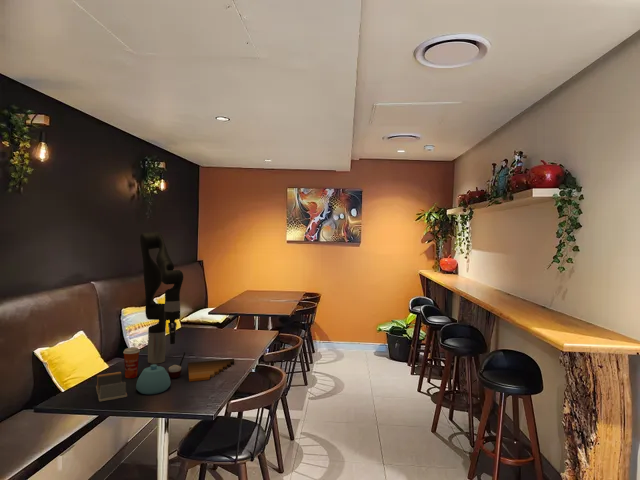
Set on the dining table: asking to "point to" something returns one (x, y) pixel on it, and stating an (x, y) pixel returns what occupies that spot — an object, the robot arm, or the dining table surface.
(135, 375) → the paper cup
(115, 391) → the beige napkin holder
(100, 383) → the sliding jaw
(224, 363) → the pan flute
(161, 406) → the dining table surface
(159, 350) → the robot arm
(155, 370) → the teal dome lid
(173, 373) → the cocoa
